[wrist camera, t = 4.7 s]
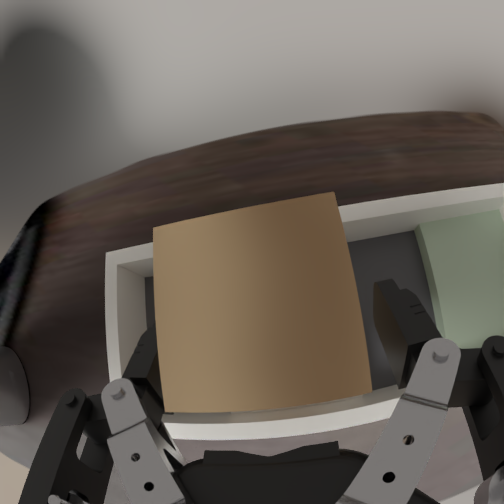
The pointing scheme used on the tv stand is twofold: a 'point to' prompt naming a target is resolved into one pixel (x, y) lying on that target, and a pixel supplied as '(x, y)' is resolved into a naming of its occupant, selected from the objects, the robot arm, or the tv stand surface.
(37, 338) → the tv stand surface
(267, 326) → the oak post
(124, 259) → the box
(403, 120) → the tv stand surface
